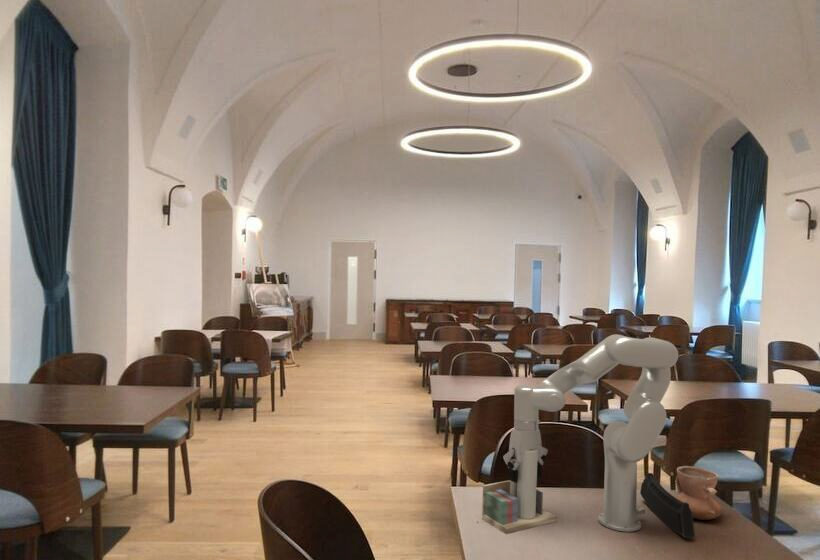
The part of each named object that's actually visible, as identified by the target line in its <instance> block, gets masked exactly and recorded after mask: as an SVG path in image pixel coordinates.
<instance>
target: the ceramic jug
mask: <svg viewBox="0 0 820 560" xmlns="http://www.w3.org/2000/svg"><path fill="white" fill-rule="evenodd" d="M676 474H677V475H676V479H675V485H676V489H677V493H678V494H677V493H676V495H673V496H674V497H675V498H676V499H678V500H680V501H681V502H686V503H688V504H689V508H690V509H691V511H692V516H693V520H701V521H706V520H707V521H709V520H714V519H717V518H718V517H720V516H721V514H722V506H721V505H720V504H719V502H717V501H716V500H715V499H714V498H713V497H712V495H714V494H715V493H716V494H717V493H718V491H717V490H716V489H715V488H716V486H717V484H718V480H719V475H718V474H717V473H716V472H714V471H711V470H708V469H704V468H702V467H701V468H700V467H696V466H689V465H683V466H678V467H677V468H676Z"/></svg>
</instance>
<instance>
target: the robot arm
mask: <svg viewBox="0 0 820 560" xmlns="http://www.w3.org/2000/svg"><path fill="white" fill-rule="evenodd" d="M678 360H679V350H678V349H677V347H676V346H675V345H674V344H673V343H671V341H668V340H664V339H660V338H656V337H650V336H649V337H645V338H636V337H630V336H625V335H622V334H616V333H615V334H611V335H609V336H606V338H604V339H603V340H602V341H601V342H599V343H598V344H596V345H595V346H594V347H592V348H591V349H590V350H588V351H587V352H586V353H584V354H583V355H582V356H580V357H579V358H577V359H576V360H574V361H572V362H571V363H569V364H567V365H564V366H563V367H561V368H559V369H558V370H557V371H555V372H553V373H552V374H551V375H549V376H547V378H545V379H543V381H541V382H540V383H539V384H538V386H534V385H532V384H531V385H530V384H519V385H516V386H515V388H514V391H513V392H514V393H513V394H514V398H513V399H514V401H513V402H514V404H513V405H514V406H513V407H514V408H513V409H514V410H513V413H514V414H513V416H514V417H513V421H514V422H513V428H512V429H511V432H510V437H509V443H508V444H509V446H508V451H507V453H505V454H504V455H503V456H502V457H503V461H504V463H505V465H506V466H507V468H508V469H509V480H510V481H512V482H515V483H517V482H518V470H516V469H517V467H518V465H519V464H520V463H523V460H524V451H529V450H531V449H533V450H535V449H537V450H538V457H537V478H542V474H543V473H542V472H543V471H542V469H543V468H542V467H543V466H544V462H545V459H546V458H547V457H546V456H547V454H548V451H549V450H548V448H546V447H544V446H542V438H541V437H542V436H541V431H540V428H539V425H540V424H541V421H540V419H539V410H540V411H546V412H550V413H551V412H558V411H560V410H562V409H563V408H564V407H565V404H566V396H565V394H566V393H567V392H569V391H570V390H572V389H574V388H576V387H577V386H581V385H587V384H592V383H595V382H597V381H598V380H599V379H601V378H602V377H603V376H604V375H606V374H607V373H609V372H610V371H611V370H613V369H614V368H615V367H617V366H618V365H619V364H620V365H623V366H631V367H636V368H642V370H641V374H640V376H639V379H638V380H637V382H636V384H635V386H634V387H633V389H632V391H631V392H630V394H629V395H628V397H627V399H626V400H625V402H624V404H623V413H624V415H625V417H626V418H627V419H628V420H629V421H628V422H627V423H626V422H625V421H619V420H618V421H617V420H616V421H613V422H611V423H609V424H608V425H607V426H606V428H604V432H603V436H602V437H603V439H602V440H603V451H604V479H603V480H604V483H603V484H604V485H603V486H604V488H603V512H601V513H600V514H599V515H598V518H597V519H598V522H599V523H600V524H601V525H602V526H604V527H606V528H608V529H610V530H613V531H616V532H617V531H618V532H625V533H626V532H629V533H630V532H631V533H632V532H636V531H639V530H640V529H641V528H642V522H641V520H640V519H639V516H640V515H643V514H645V513H646V509H645V508H644V507H642V506H641V507H638V508H637V490H638V489H637V487H638V485H637V482H638V462H640V461H642V460H643V459H645V457H646V456H647V455H648V454H649V453H650V451H651V449H652V448H653V446H654V445H655V443H656V441H657V440H658V437H660V435H661V433H662V431H663V429H664V428H665V426H666V423H667V422H666V421H667V411H666V409H665V408H666V407H664V405H663V404H662V403H661V402H662V400H663V398H664V397H665V394H666V392H667V391H668V388H669V386H670V383H671V378H672V377H671V376H672V372H671V368H672V367H673V366H674V365H675V364H676V363H677V361H678ZM513 455H514V456H513ZM512 456H513V458H511V457H512ZM516 459H517V460H516ZM514 462H515V464H514ZM513 464H514V465H513Z"/></svg>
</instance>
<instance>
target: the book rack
mask: <svg viewBox="0 0 820 560" xmlns="http://www.w3.org/2000/svg"><path fill="white" fill-rule="evenodd" d="M543 495H544V492H543V491H541V490H540V489H537V488H536V513H535V517H534V518H532V519H524V518H520V517H518V498H516V497H514V496H512V495H510V479H509V480H504V481H499V482H494V483H493V482H492V483H488V484H483V485H482V512H481V513H482V516H481V518H482V520H484V521H485V522H487V523H488V524H490V525H492V526H493V527H495V528H496V529H498V530H499V531H501V532H503V533H504V534H505V535H507V534H511V533H517V532H520V531H523V530H527V529H530V528H531V529H532V528H536V527H538V526H544V525H546V524H552V523H555V522H557V516H556V515H555V514H552V513H551V512H549V511H547V510H545V509H543V504H544V503H543V501H544V500H543V497H544V496H543Z"/></svg>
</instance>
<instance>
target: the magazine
mask: <svg viewBox="0 0 820 560" xmlns="http://www.w3.org/2000/svg"><path fill="white" fill-rule="evenodd" d="M640 486H641V487H640V492H639V493H640V495H641V497H642V499H643V500H644V502H645V503H646V505H647V506H648V507H649V508H650V510H651V511H652V512H653V513H654V515H655V516H656V517H657V518H658V519H659V520H660V521H661V522H662V523H663V524H665V525H666V526H667V527H668V528H669V529H671V530H672V531H673V532H675V533H677V534H679V535H681V536H682V537H683V538H685V539H695V538H696V536H695V535H696V534H695V528H694V518H693V516H692V511H691V509H690V508H689V504H688V503H686V502H681V501H680V500H678V499H676V498H675V497H674V496H675V495H672V494H671V493H670V492H669V491H667V490H666V489H665V488H664V487H663V486H662V484H660V482H659V481H658V480H657V479H656V477H655V476H654V474H653V473H652V472H648V473H647V474H646V477H644V479H643V481H642V483H641V485H640Z"/></svg>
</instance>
